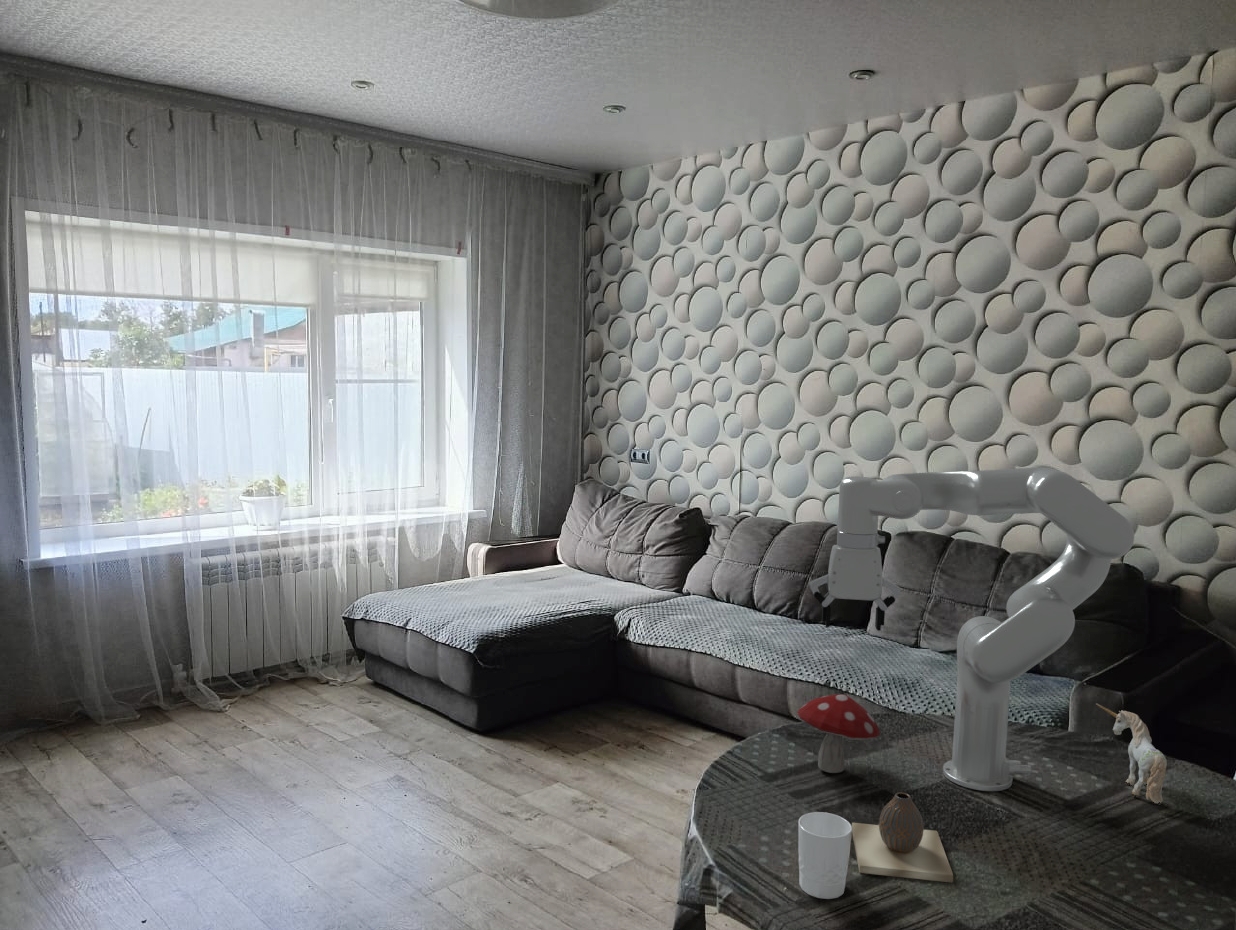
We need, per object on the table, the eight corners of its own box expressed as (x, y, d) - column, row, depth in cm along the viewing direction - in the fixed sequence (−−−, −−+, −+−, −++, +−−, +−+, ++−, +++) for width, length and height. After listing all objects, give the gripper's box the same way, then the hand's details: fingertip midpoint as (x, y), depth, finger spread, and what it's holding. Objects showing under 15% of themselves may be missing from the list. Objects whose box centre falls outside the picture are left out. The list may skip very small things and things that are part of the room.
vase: (924, 860, 147) (928, 807, 146) (879, 855, 148) (882, 802, 147) (919, 839, 154) (922, 788, 153) (876, 834, 155) (879, 783, 154)
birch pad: (936, 837, 157) (937, 830, 156) (952, 882, 143) (953, 875, 143) (851, 829, 159) (851, 822, 159) (859, 872, 145) (859, 865, 145)
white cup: (789, 873, 144) (792, 812, 143) (838, 872, 145) (842, 811, 144) (803, 902, 137) (806, 838, 136) (856, 901, 137) (859, 837, 136)
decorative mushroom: (798, 748, 192) (801, 678, 191) (877, 758, 188) (881, 687, 186) (791, 780, 177) (794, 704, 175) (877, 792, 173) (881, 715, 171)
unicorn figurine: (1124, 767, 187) (1130, 703, 185) (1189, 813, 168) (1196, 742, 166) (1090, 767, 186) (1095, 703, 185) (1151, 814, 167) (1158, 742, 166)
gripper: (900, 539, 182) (895, 625, 184) (810, 535, 184) (806, 619, 186) (906, 546, 174) (900, 635, 176) (812, 542, 177) (808, 629, 179)
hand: (852, 627), depth 181 cm, fingers open, 9 cm apart
